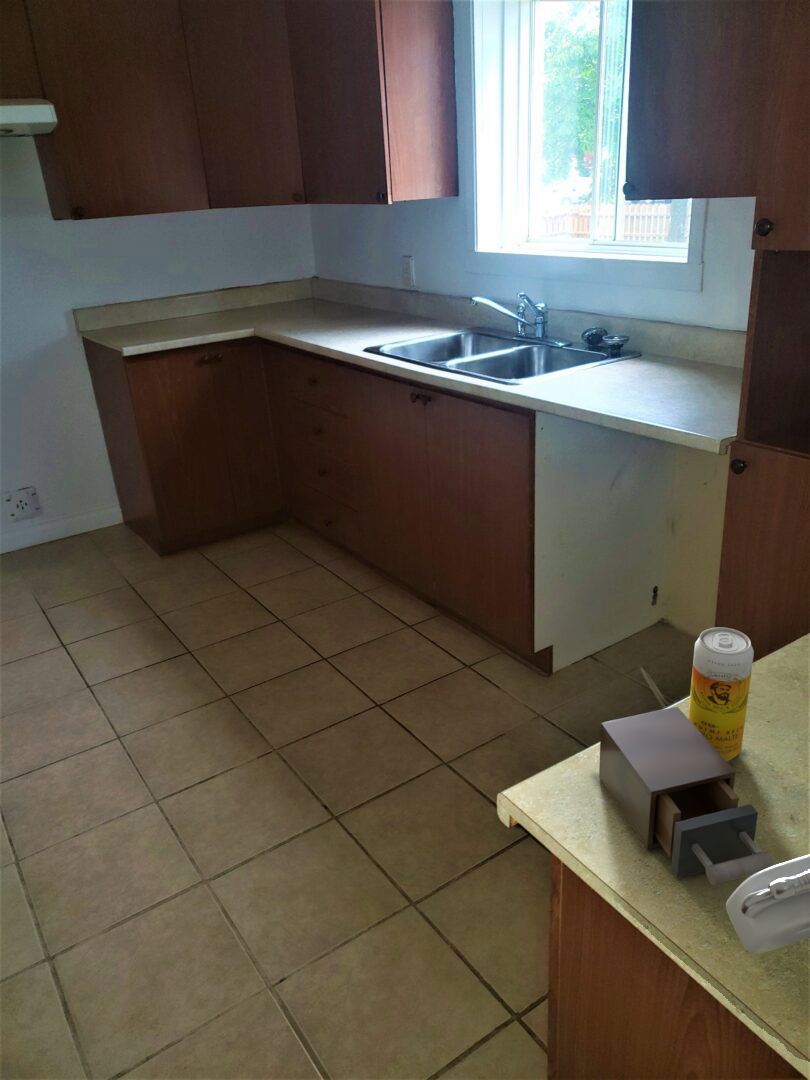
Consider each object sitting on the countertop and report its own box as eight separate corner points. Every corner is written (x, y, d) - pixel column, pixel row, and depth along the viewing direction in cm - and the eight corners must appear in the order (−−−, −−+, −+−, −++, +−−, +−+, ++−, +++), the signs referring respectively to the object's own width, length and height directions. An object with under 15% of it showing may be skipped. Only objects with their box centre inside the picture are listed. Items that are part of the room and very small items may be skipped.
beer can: (687, 762, 94) (697, 653, 87) (684, 729, 99) (693, 623, 93) (743, 768, 92) (758, 657, 86) (737, 733, 98) (750, 627, 91)
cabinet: (728, 829, 84) (735, 771, 81) (647, 850, 83) (651, 792, 80) (672, 760, 94) (677, 706, 91) (598, 777, 93) (600, 722, 89)
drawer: (779, 894, 76) (787, 845, 73) (701, 915, 75) (707, 866, 72) (694, 788, 89) (699, 744, 86) (627, 804, 88) (629, 760, 85)
